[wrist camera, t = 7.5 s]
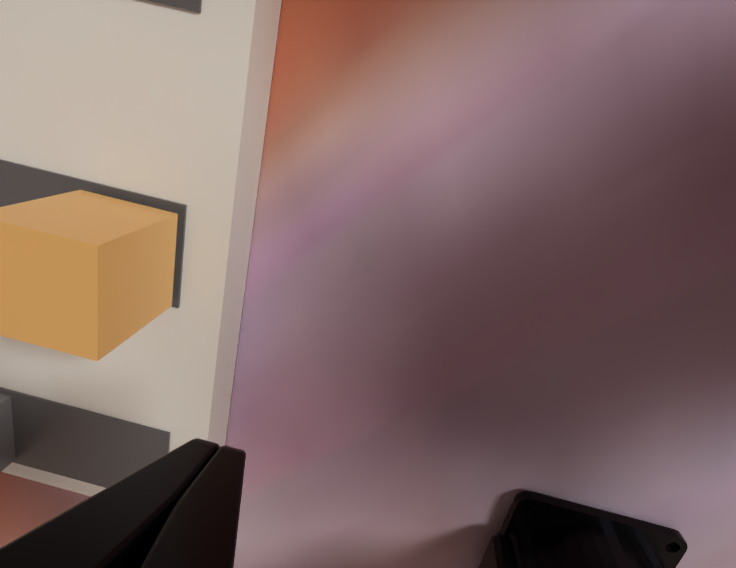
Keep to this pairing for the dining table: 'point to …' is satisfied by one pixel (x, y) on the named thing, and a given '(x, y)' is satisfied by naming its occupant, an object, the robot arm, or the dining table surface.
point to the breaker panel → (141, 186)
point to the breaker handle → (83, 271)
